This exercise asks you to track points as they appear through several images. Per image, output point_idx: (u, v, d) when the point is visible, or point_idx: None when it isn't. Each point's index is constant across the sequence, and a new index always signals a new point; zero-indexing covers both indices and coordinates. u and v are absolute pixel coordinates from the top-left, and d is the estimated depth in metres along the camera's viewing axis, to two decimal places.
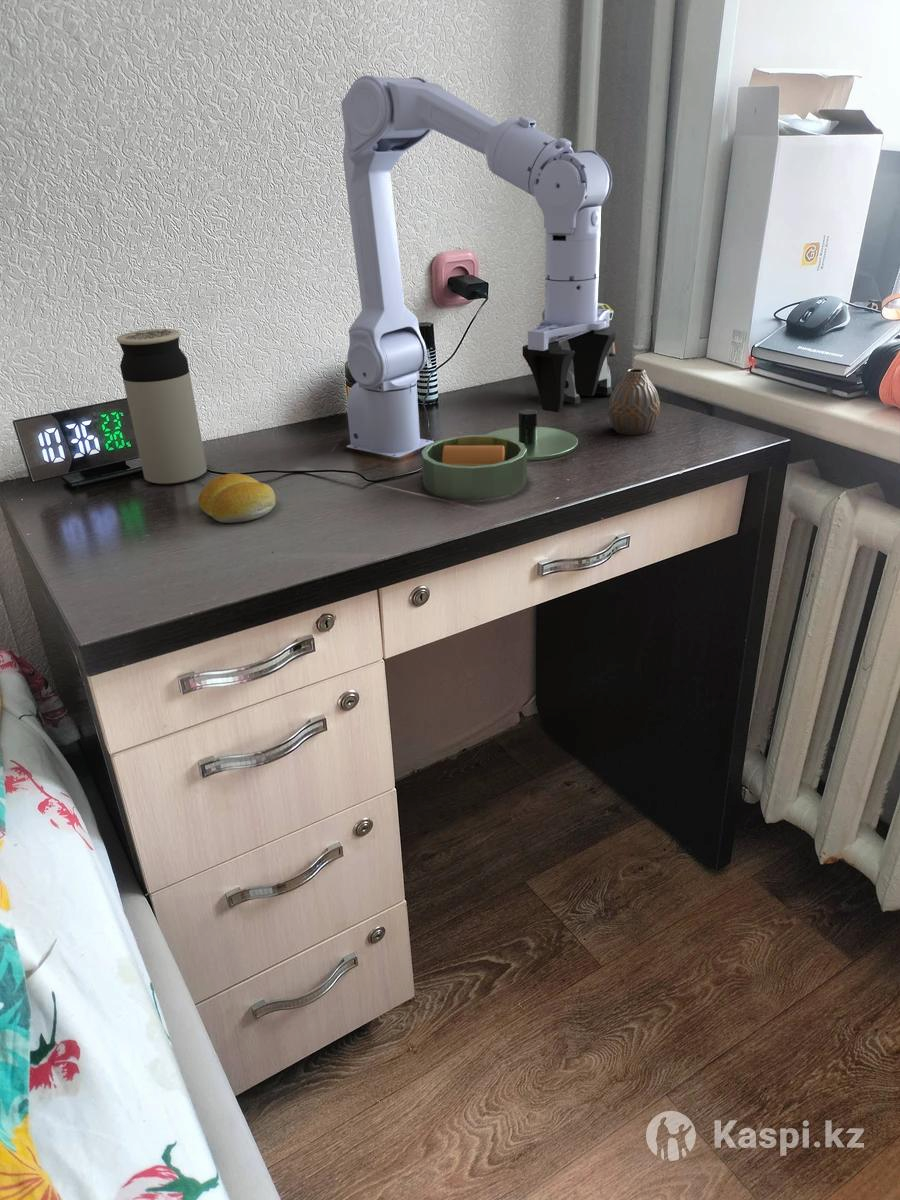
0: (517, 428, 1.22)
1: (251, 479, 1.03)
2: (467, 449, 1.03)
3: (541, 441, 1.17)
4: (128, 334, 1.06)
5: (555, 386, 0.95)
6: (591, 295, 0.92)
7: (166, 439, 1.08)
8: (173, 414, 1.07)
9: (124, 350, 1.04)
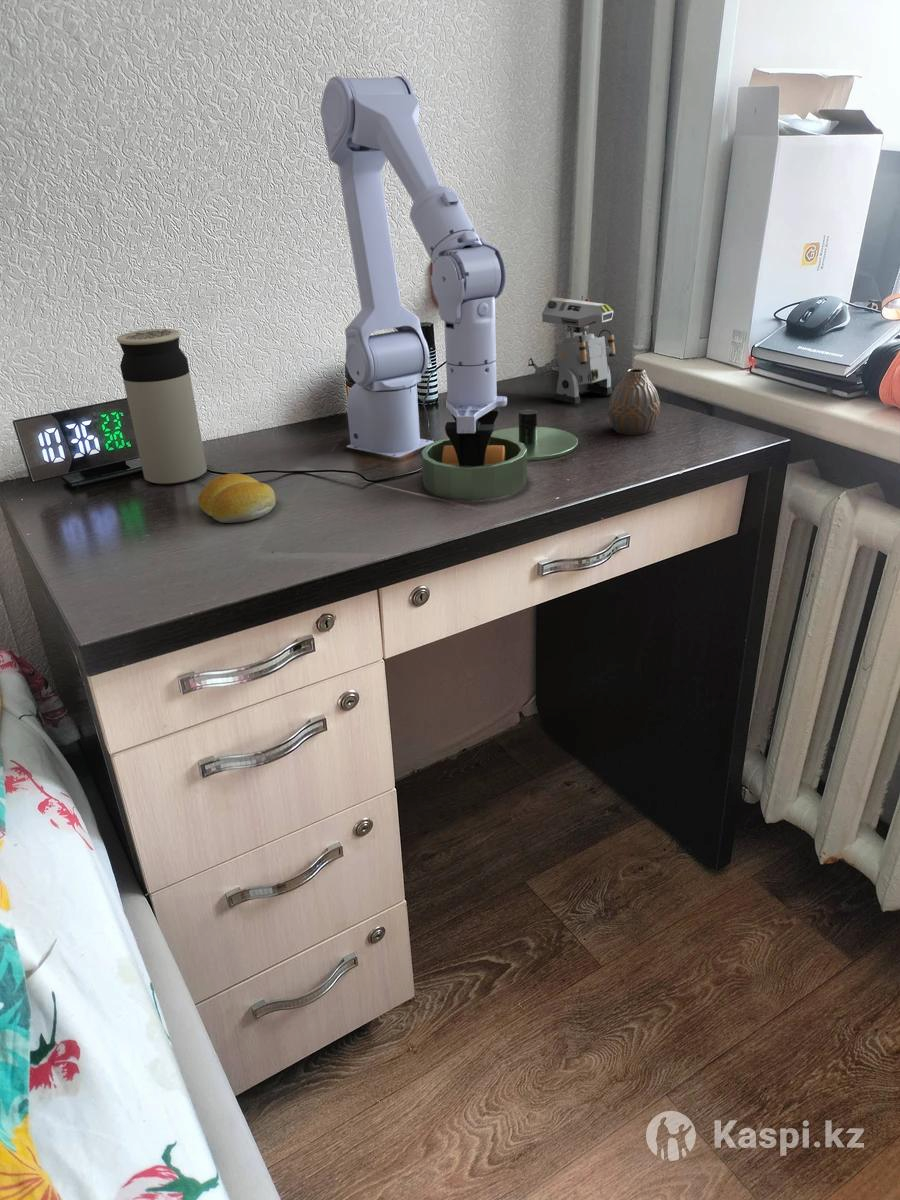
0: (517, 428, 1.22)
1: (251, 479, 1.03)
2: None
3: (541, 441, 1.17)
4: (128, 334, 1.06)
5: (477, 458, 1.01)
6: (495, 375, 0.99)
7: (166, 439, 1.08)
8: (173, 414, 1.07)
9: (124, 350, 1.04)
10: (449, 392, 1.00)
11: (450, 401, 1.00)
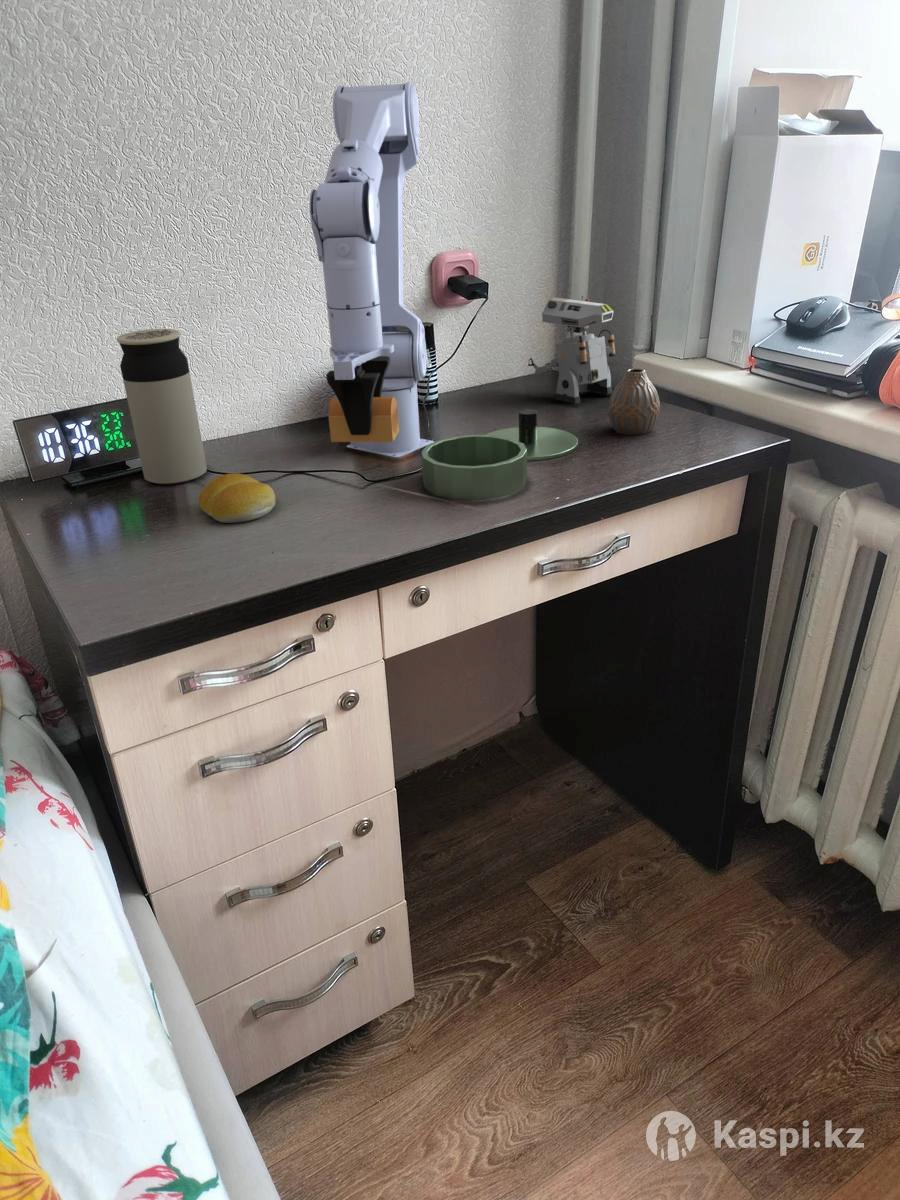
0: (517, 428, 1.22)
1: (251, 479, 1.03)
2: None
3: (541, 441, 1.17)
4: (128, 334, 1.06)
5: (363, 410, 0.96)
6: (379, 320, 0.94)
7: (166, 439, 1.08)
8: (173, 414, 1.07)
9: (124, 350, 1.04)
10: (331, 339, 0.94)
11: (333, 348, 0.95)
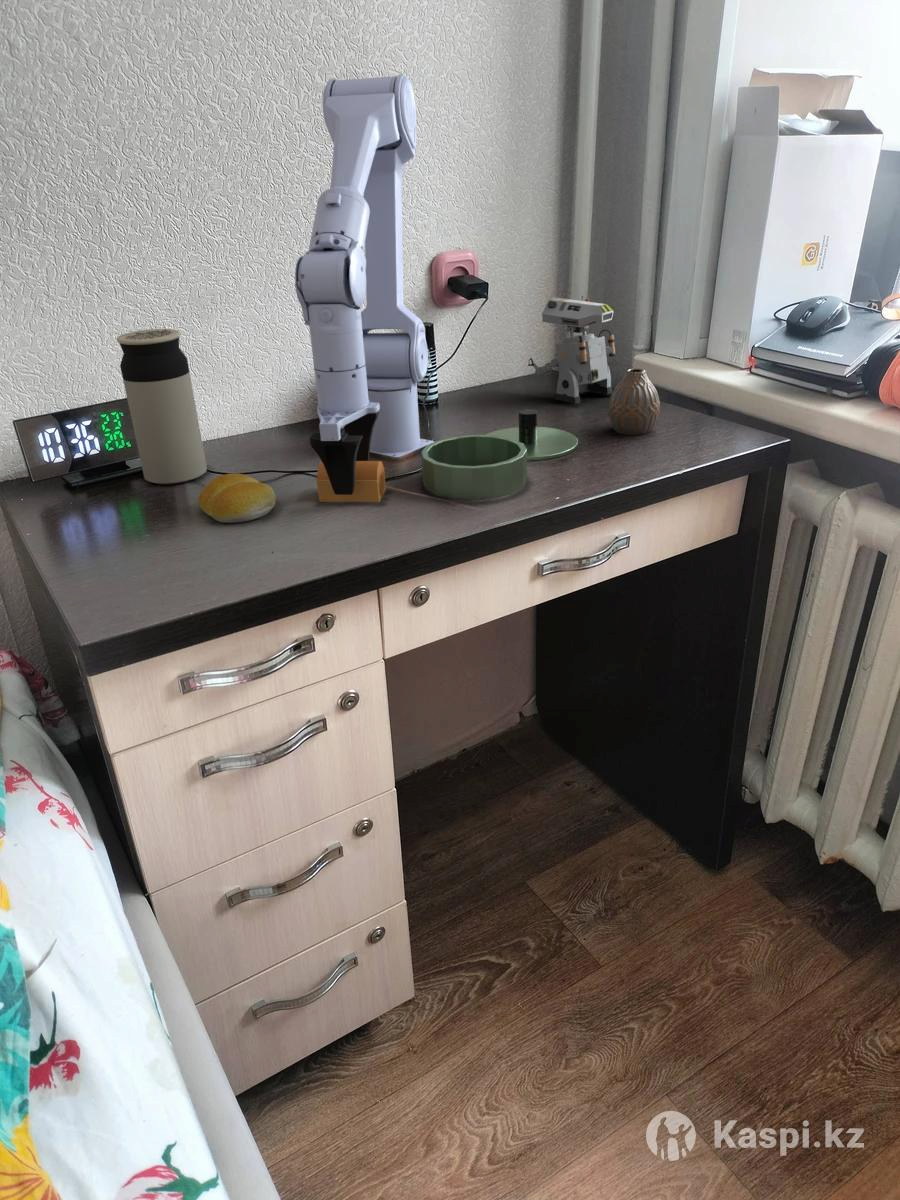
0: (517, 428, 1.22)
1: (251, 479, 1.03)
2: None
3: (541, 441, 1.17)
4: (128, 334, 1.06)
5: (347, 471, 0.98)
6: (364, 381, 0.96)
7: (166, 439, 1.08)
8: (173, 414, 1.07)
9: (124, 350, 1.04)
10: (318, 398, 0.97)
11: (320, 408, 0.97)
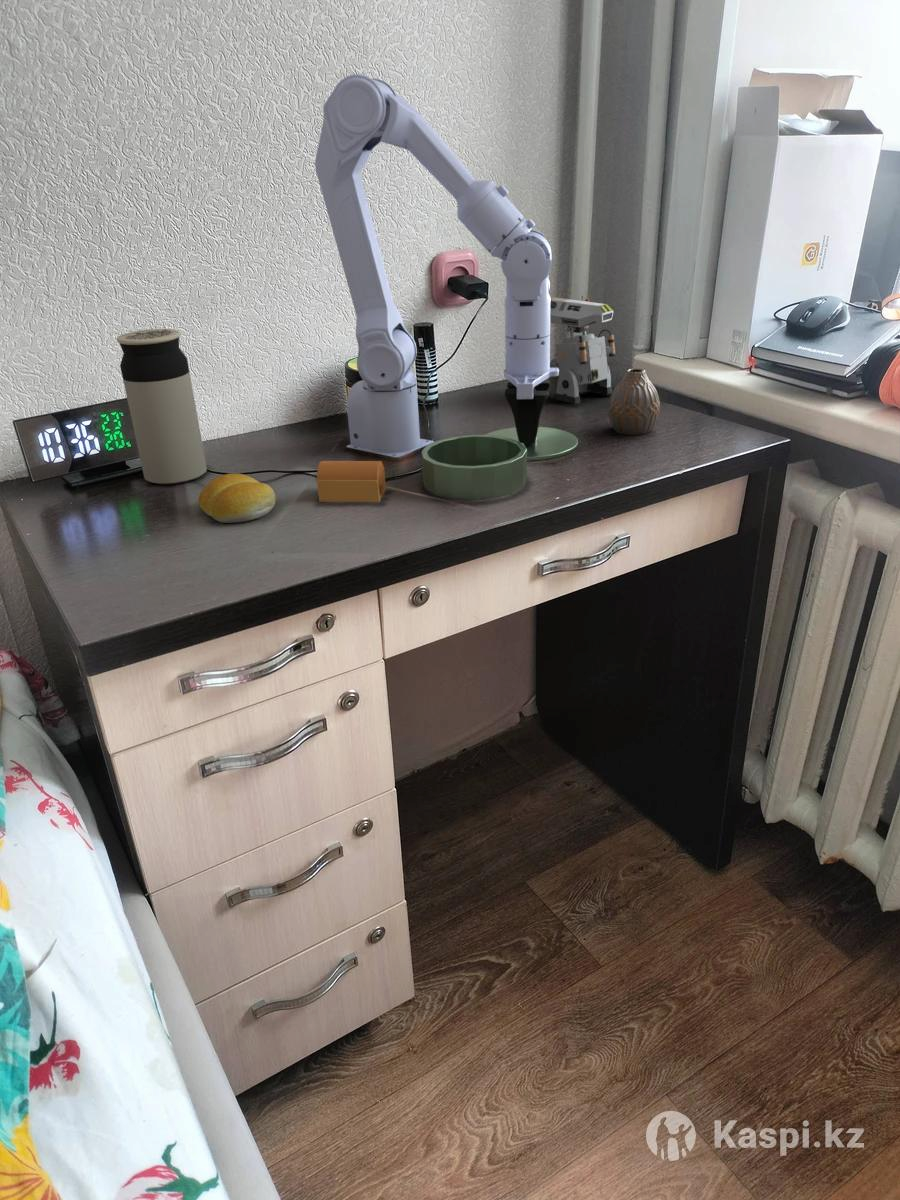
0: None
1: (251, 479, 1.03)
2: (342, 465, 1.01)
3: (541, 441, 1.17)
4: (128, 334, 1.06)
5: (532, 421, 1.14)
6: (549, 348, 1.10)
7: (166, 439, 1.08)
8: (173, 414, 1.07)
9: (124, 350, 1.04)
10: (508, 363, 1.11)
11: (508, 371, 1.11)
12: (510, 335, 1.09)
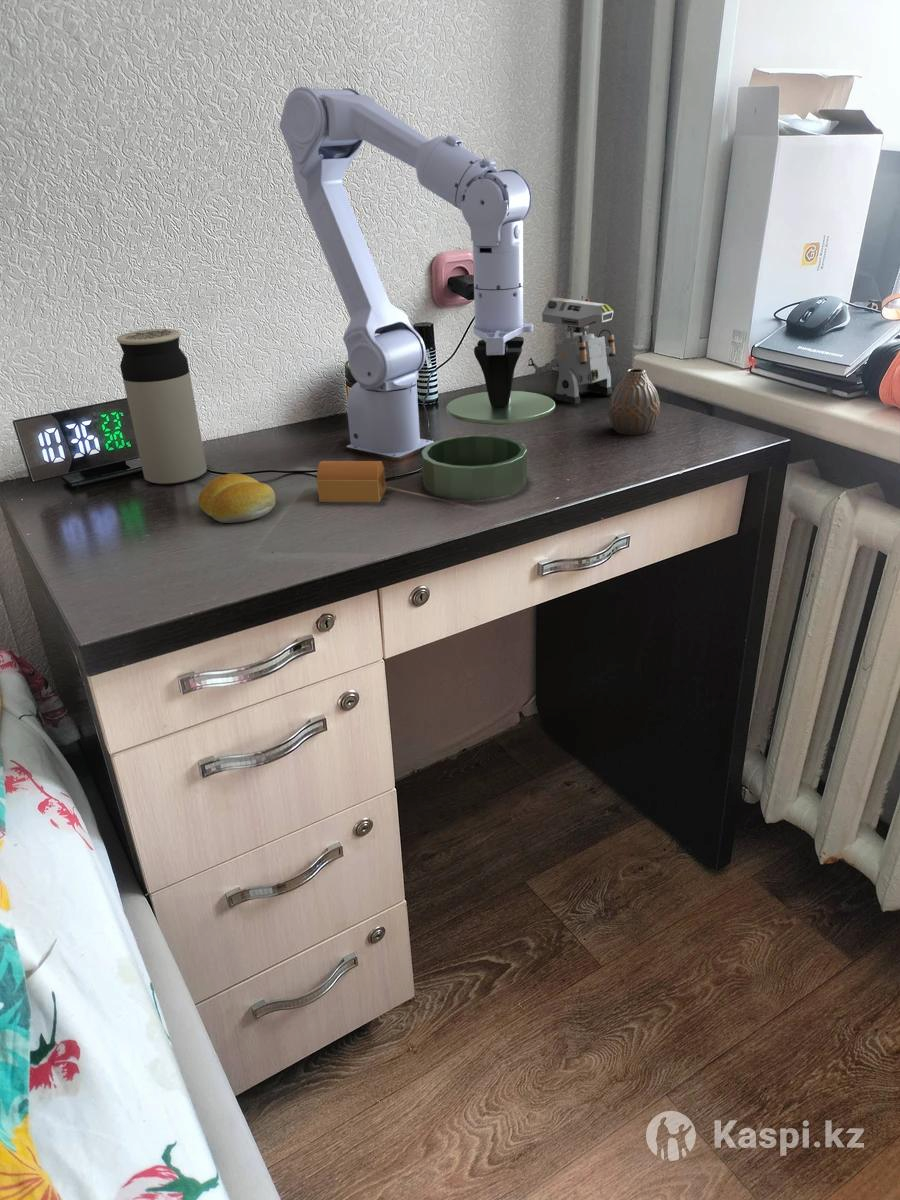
0: None
1: (251, 479, 1.03)
2: (342, 465, 1.01)
3: (515, 404, 1.07)
4: (128, 334, 1.06)
5: (505, 382, 1.04)
6: (522, 300, 1.01)
7: (166, 439, 1.08)
8: (173, 414, 1.07)
9: (124, 350, 1.04)
10: (477, 318, 1.02)
11: (478, 327, 1.02)
12: (474, 284, 1.01)
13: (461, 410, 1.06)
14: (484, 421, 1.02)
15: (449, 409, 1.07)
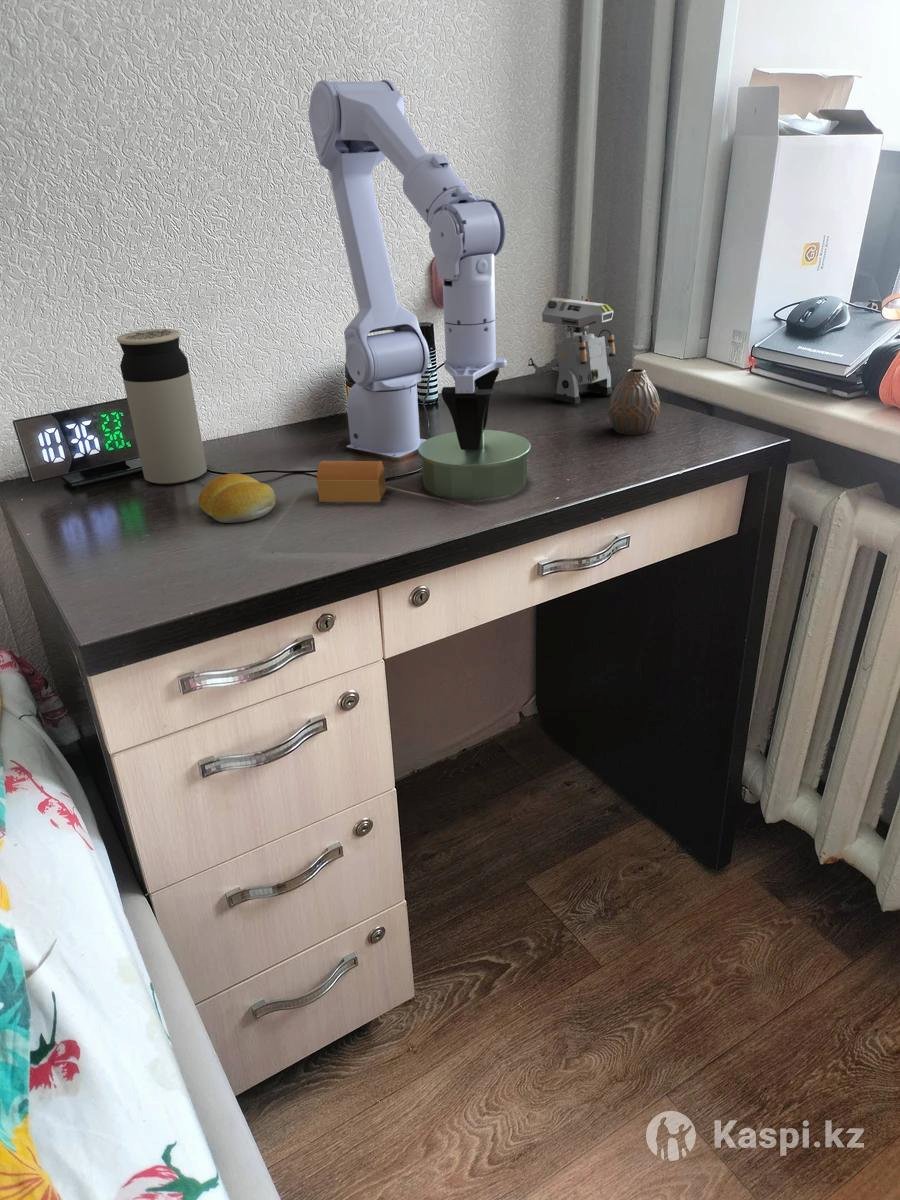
0: None
1: (251, 479, 1.03)
2: (342, 465, 1.01)
3: (489, 446, 1.03)
4: (128, 334, 1.06)
5: (475, 425, 0.98)
6: (494, 335, 0.97)
7: (166, 439, 1.08)
8: (173, 414, 1.07)
9: (124, 350, 1.04)
10: (447, 353, 0.97)
11: (448, 362, 0.98)
12: None
13: (432, 452, 1.02)
14: (455, 466, 0.98)
15: (420, 451, 1.03)
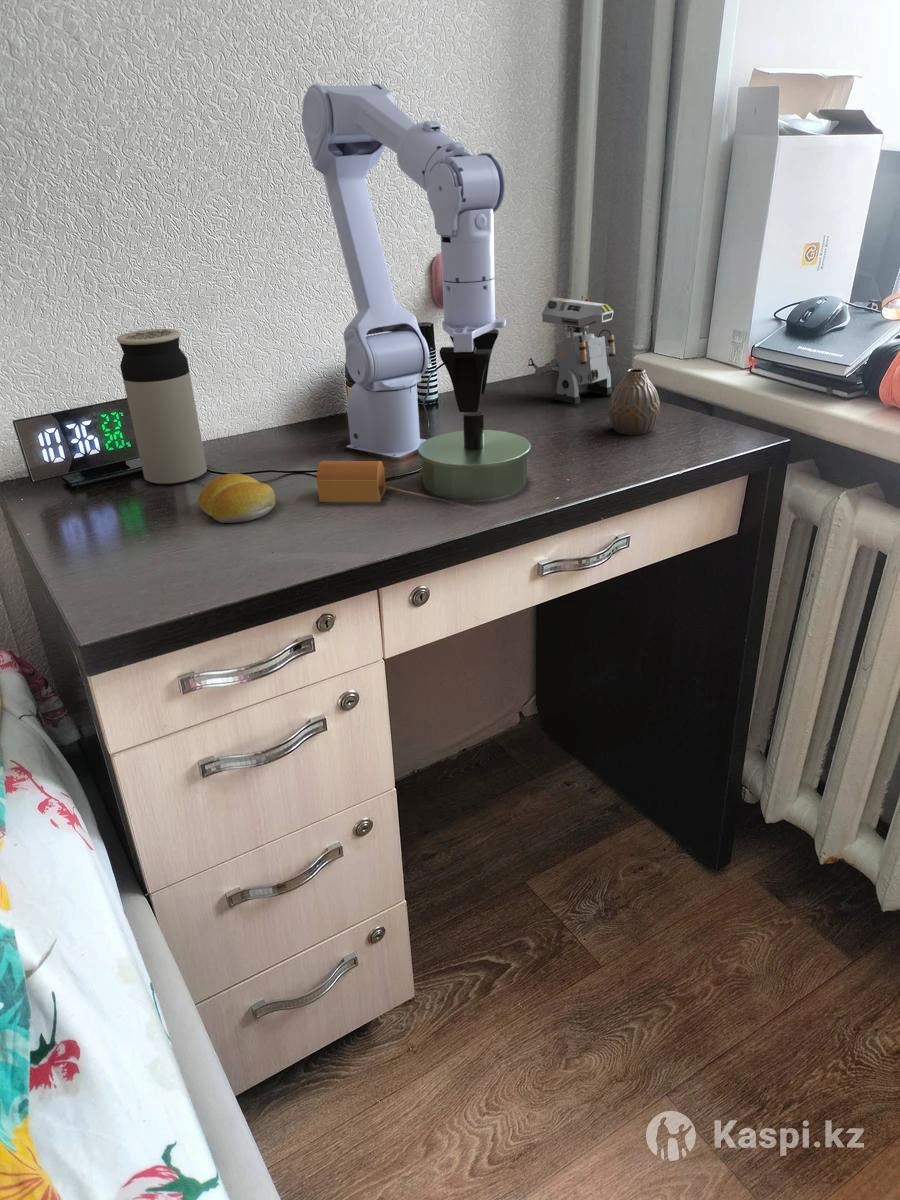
0: None
1: (251, 479, 1.03)
2: (342, 465, 1.01)
3: (489, 446, 1.03)
4: (128, 334, 1.06)
5: (474, 386, 0.96)
6: (493, 294, 0.95)
7: (166, 439, 1.08)
8: (173, 414, 1.07)
9: (124, 350, 1.04)
10: (446, 312, 0.95)
11: (447, 322, 0.96)
12: None
13: (432, 452, 1.02)
14: (455, 466, 0.98)
15: (420, 451, 1.03)
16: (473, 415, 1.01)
